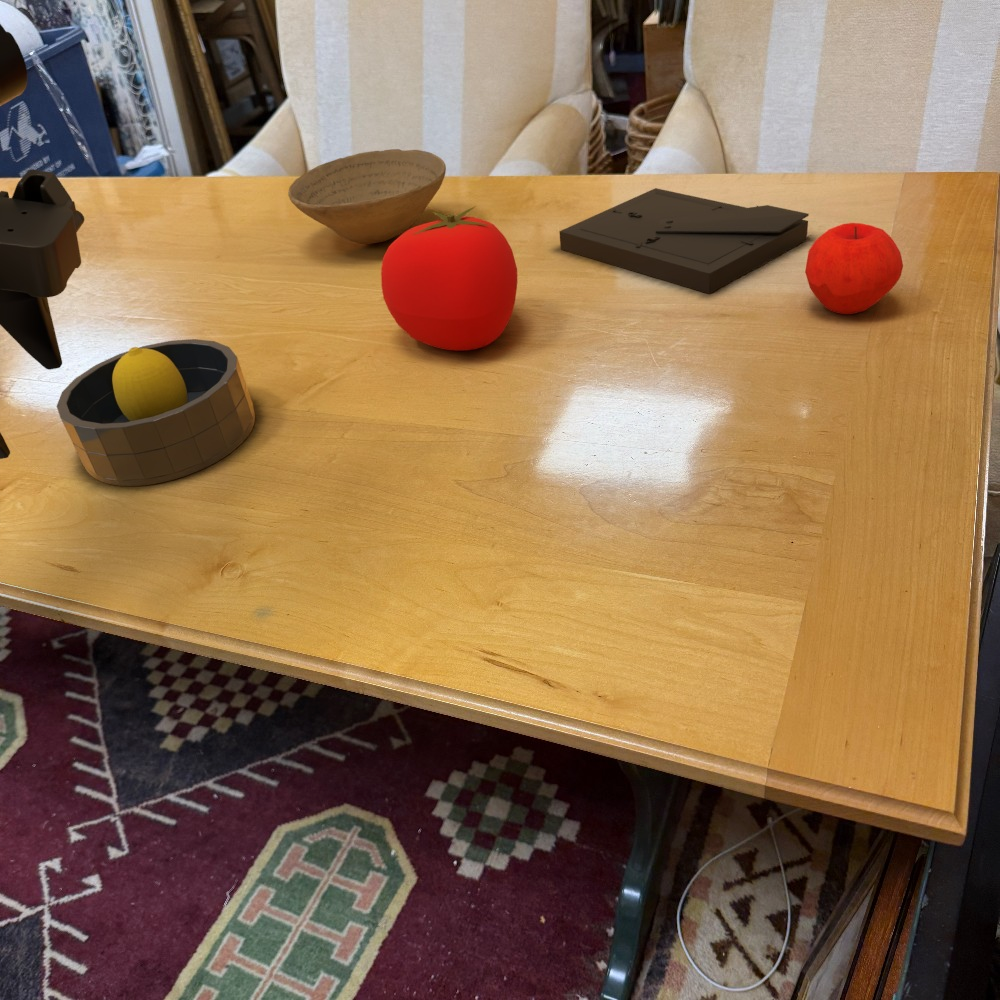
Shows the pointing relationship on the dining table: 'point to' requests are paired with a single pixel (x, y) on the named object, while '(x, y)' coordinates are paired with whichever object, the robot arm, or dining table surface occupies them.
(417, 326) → the tomato
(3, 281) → the robot arm
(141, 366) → the lemon
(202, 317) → the dining table surface
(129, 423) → the pot
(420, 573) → the dining table surface
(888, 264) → the apple
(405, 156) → the bowl
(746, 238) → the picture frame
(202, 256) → the dining table surface
